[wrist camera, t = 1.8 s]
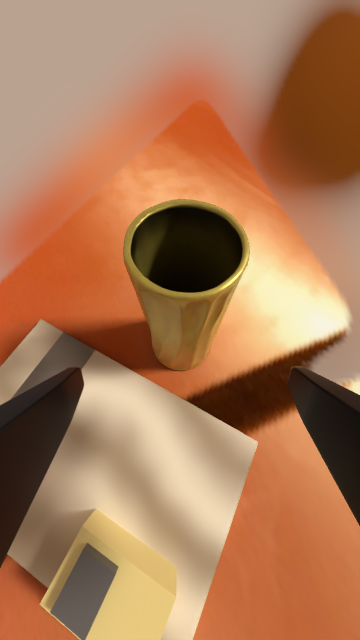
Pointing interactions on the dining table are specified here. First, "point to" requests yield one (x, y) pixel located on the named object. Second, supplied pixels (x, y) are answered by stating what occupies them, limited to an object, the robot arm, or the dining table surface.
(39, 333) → the subfloor panel
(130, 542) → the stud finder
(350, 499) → the robot arm
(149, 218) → the vase
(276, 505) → the dining table surface
